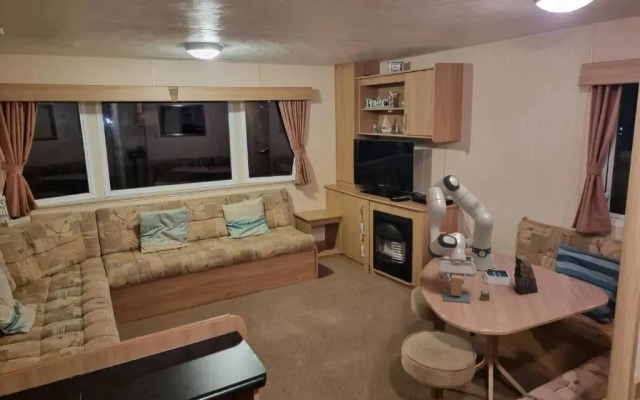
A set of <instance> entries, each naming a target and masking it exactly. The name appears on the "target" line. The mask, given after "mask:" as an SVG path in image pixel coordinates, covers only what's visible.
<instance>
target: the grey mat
mask: <svg viewBox="0 0 640 400" xmlns="http://www.w3.org/2000/svg"><path fill="white" fill-rule="evenodd" d="M442 301H443V302H448V303H449V302H450V303H458V304H459V303H461V304H471V299H470V292H469V291H465V290H463V291H462V290H461V296H456V295H451V289H449V290H448V289H442Z"/></svg>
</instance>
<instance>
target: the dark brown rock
mask: <svg viewBox="0 0 640 400" xmlns="http://www.w3.org/2000/svg"><path fill="white" fill-rule="evenodd" d="M514 263H515V267H514V274H513V277H514V285H515V286H514V292H515V293H517V294H519V295H520V296H521V295H523V296H524V295H530V294H536V293H539V292H538V289H539V288H538V285H537V279H536V276H535V273H534V269H533V267H532V264H531V262H530V260H529V259H528V258H527V256H526V255H525V254H524V253H521V254H517V255H516V256H515V260H514Z"/></svg>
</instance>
